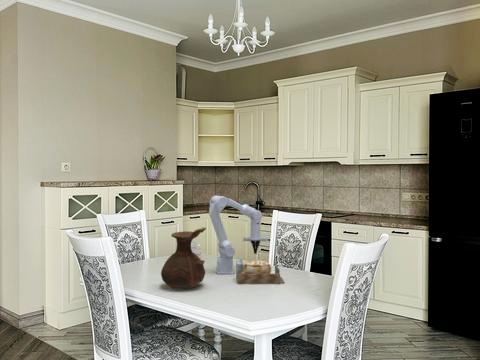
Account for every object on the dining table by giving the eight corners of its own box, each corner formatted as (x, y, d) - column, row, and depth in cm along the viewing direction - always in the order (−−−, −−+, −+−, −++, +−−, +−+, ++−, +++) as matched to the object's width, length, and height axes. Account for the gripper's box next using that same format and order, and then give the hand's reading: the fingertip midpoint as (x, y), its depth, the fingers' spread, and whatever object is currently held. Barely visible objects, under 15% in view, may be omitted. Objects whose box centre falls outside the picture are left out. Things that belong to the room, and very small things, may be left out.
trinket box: (274, 276, 248) (274, 262, 248) (249, 278, 242) (249, 264, 242) (263, 271, 261) (263, 257, 260) (239, 273, 255) (239, 259, 255)
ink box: (201, 263, 281) (201, 239, 280) (198, 265, 276) (198, 241, 276) (188, 262, 283) (189, 239, 283) (185, 264, 279) (185, 240, 278)
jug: (167, 294, 210) (167, 230, 210) (156, 283, 230) (156, 225, 230) (211, 289, 219) (211, 228, 218) (197, 279, 239) (197, 223, 238)
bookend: (277, 283, 232) (277, 269, 232) (274, 277, 244) (274, 264, 244) (284, 283, 232) (284, 269, 232) (281, 277, 245) (281, 264, 244)
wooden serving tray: (237, 284, 230) (237, 264, 230) (236, 278, 243) (236, 259, 243) (280, 283, 231) (280, 264, 231) (276, 277, 244) (276, 259, 244)
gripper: (243, 231, 260) (243, 254, 260) (268, 231, 260) (268, 254, 261) (242, 229, 267) (242, 252, 267) (267, 229, 267) (267, 252, 268)
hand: (255, 253), depth 264 cm, fingers closed
